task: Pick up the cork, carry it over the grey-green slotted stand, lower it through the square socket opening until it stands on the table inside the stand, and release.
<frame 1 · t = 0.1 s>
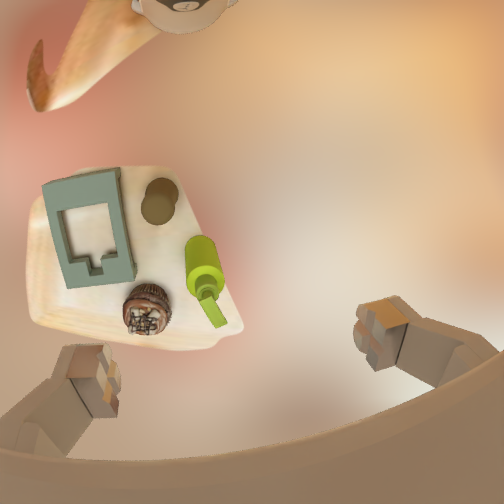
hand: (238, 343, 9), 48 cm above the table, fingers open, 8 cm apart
soap dispenser: (201, 251, 60), on the table
cupcake: (149, 299, 61), on the table
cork: (161, 194, 54), on the table
grey-green slotted stand: (93, 226, 53), on the table
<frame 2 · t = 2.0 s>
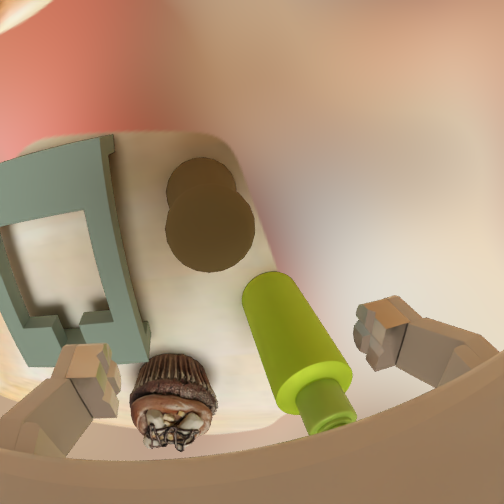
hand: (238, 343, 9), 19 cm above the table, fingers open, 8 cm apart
soap dispenser: (271, 299, 33), on the table
cupcake: (172, 375, 34), on the table
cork: (201, 191, 27), on the table
grey-green slotted stand: (62, 254, 26), on the table
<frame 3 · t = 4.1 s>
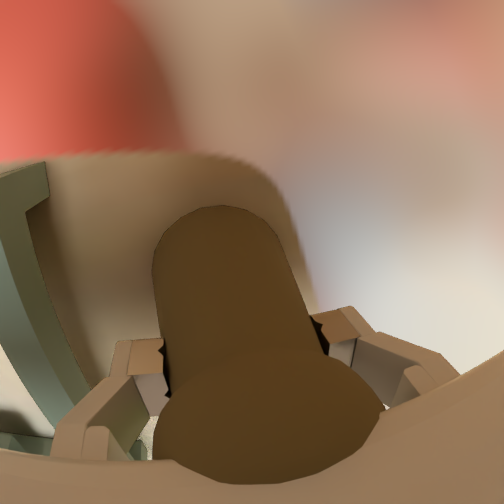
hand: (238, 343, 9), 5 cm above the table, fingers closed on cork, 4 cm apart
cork: (218, 269, 14), on the table, touching gripper
grey-green slotted stand: (2, 356, 13), on the table
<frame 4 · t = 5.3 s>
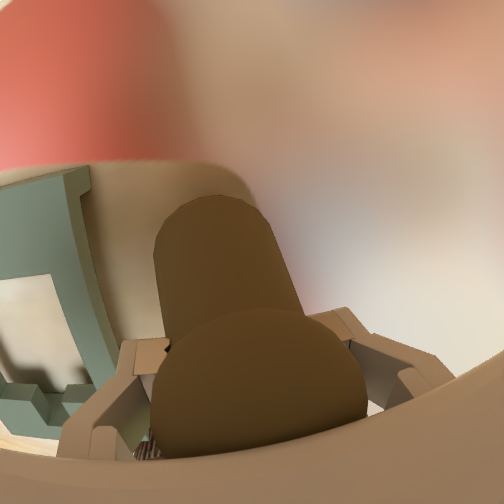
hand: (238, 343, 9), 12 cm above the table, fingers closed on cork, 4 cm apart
cupcake: (176, 440, 27), on the table
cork: (215, 255, 15), point 5 cm above the table, touching gripper
grey-green slotted stand: (37, 314, 19), on the table
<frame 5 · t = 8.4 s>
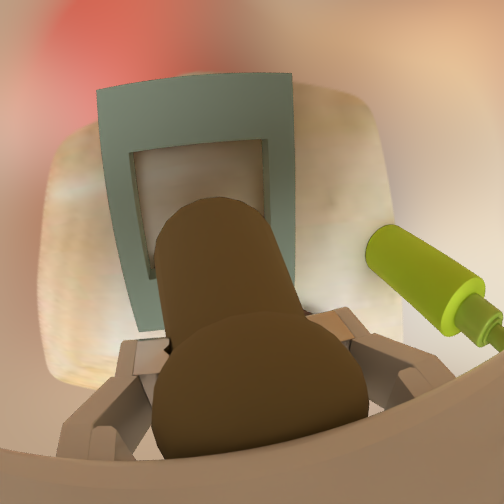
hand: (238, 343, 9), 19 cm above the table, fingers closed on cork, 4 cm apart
soap dispenser: (386, 252, 34), on the table
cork: (216, 256, 15), point 13 cm above the table, touching gripper
grey-green slotted stand: (200, 197, 27), on the table
when the fingers open (7 cm above the table, at t = 11.4 s): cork stays where it is, on the table.
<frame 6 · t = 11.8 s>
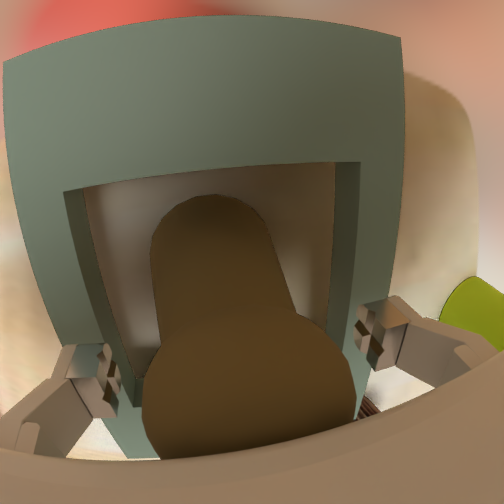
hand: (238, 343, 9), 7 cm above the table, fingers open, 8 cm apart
soap dispenser: (460, 310, 22), on the table
cupcake: (329, 421, 24), on the table
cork: (211, 253, 15), on the table
grey-green slotted stand: (215, 258, 15), on the table
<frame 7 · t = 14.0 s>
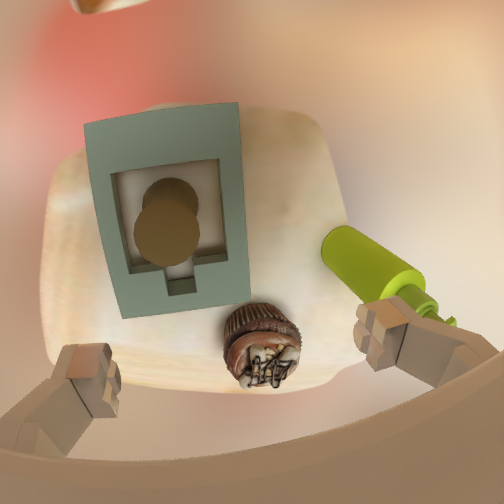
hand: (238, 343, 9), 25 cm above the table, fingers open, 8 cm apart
soap dispenser: (342, 251, 39), on the table
cupcake: (254, 326, 40), on the table
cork: (170, 205, 32), on the table
grey-green slotted stand: (171, 207, 32), on the table
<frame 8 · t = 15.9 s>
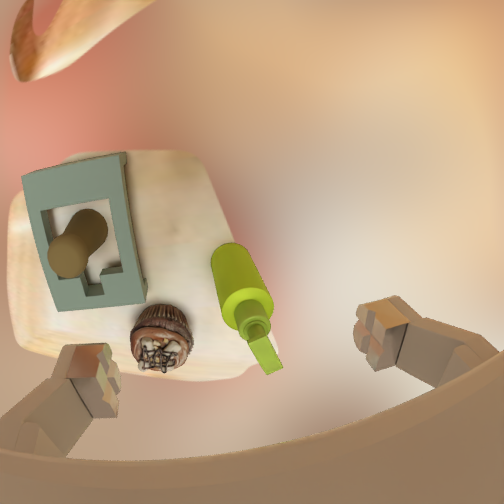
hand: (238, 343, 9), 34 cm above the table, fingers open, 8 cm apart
soap dispenser: (231, 263, 47), on the table
cupcake: (162, 323, 48), on the table
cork: (88, 228, 40), on the table
grey-green slotted stand: (89, 230, 40), on the table
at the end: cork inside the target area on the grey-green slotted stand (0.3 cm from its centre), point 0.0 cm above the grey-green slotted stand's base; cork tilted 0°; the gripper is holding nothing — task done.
